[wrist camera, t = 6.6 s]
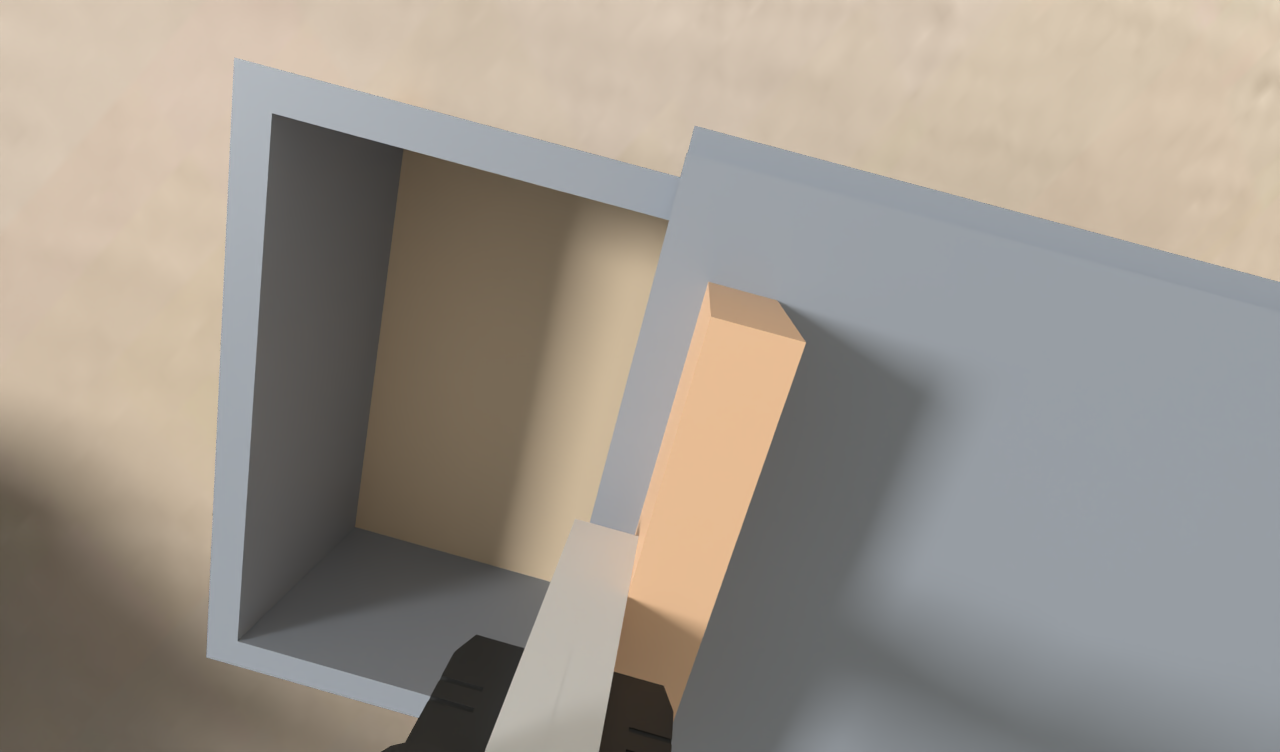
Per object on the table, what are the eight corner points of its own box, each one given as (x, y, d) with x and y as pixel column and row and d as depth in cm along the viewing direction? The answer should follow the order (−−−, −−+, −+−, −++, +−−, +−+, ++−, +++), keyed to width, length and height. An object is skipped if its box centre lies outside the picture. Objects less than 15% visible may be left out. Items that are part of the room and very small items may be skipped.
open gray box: (342, 528, 28) (206, 657, 20) (394, 102, 22) (234, 57, 15) (733, 637, 27) (745, 811, 20) (882, 233, 22) (979, 257, 14)
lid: (535, 740, 21) (467, 963, 15) (695, 133, 15) (691, 96, 9) (1070, 892, 21) (1224, 1184, 15) (1451, 335, 15) (1976, 438, 9)
